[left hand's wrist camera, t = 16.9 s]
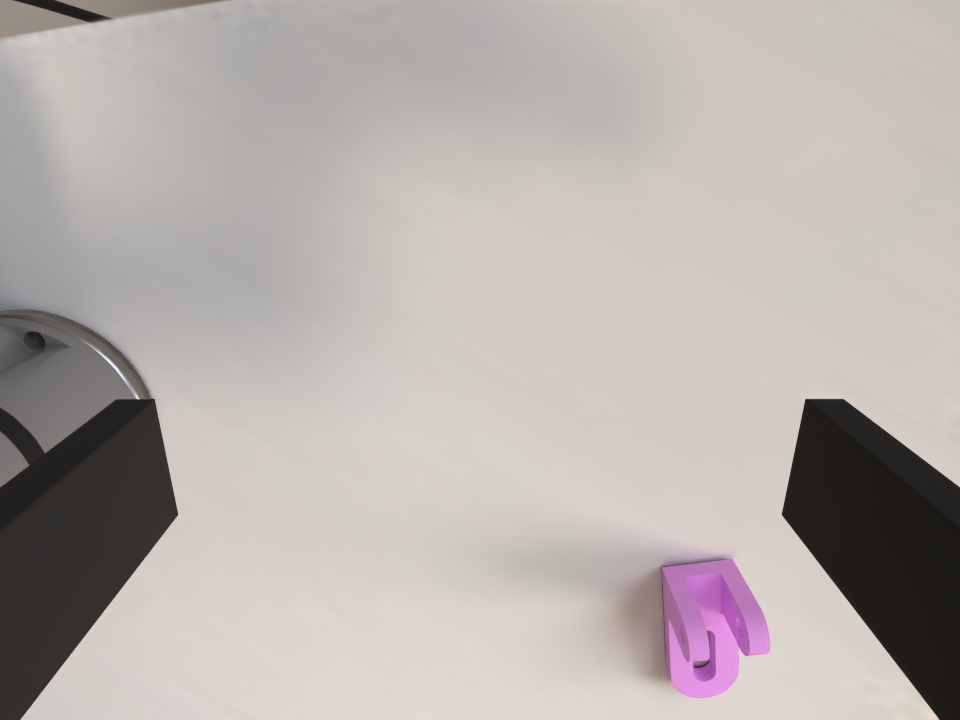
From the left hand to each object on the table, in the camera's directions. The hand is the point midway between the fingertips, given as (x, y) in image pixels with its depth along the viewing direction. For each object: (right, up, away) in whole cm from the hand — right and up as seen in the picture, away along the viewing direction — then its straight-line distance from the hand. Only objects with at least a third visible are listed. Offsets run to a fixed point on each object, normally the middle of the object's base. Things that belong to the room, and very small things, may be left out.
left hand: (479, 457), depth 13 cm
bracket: (+18, -20, +39) cm, 48 cm away
